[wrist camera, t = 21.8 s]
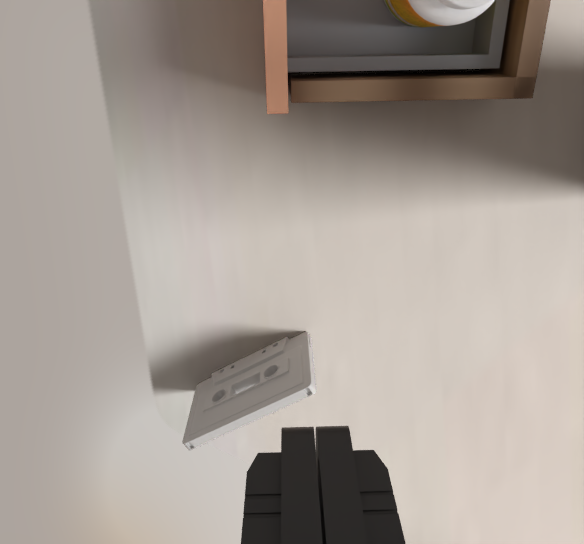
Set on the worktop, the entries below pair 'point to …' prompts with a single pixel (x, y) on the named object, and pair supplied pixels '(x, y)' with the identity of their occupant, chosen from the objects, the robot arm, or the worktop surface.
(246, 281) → the worktop surface
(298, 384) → the cassette
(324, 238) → the worktop surface
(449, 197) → the worktop surface
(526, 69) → the caddy
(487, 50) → the drawer
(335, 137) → the worktop surface
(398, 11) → the supplement bottle
